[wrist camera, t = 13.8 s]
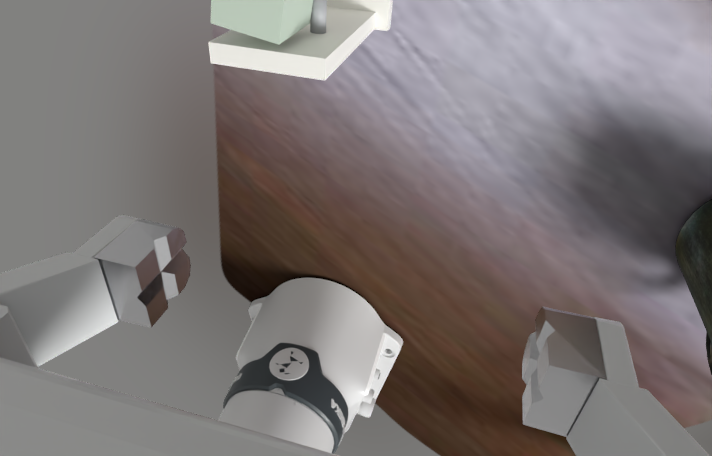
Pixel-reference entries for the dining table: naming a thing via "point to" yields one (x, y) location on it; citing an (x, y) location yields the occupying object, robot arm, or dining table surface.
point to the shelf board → (262, 17)
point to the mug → (698, 265)
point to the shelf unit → (307, 40)
